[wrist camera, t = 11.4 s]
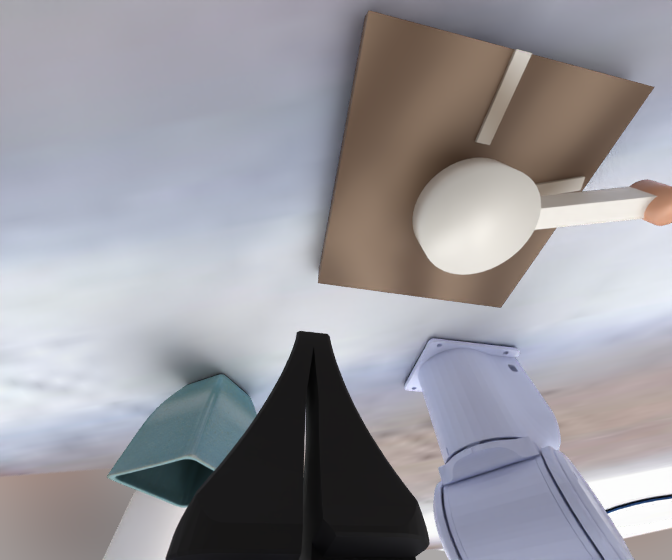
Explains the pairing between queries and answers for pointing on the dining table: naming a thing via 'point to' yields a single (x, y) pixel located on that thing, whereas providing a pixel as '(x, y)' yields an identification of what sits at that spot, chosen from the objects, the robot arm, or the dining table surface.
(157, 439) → the flower pot
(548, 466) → the robot arm
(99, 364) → the dining table surface
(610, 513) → the plate
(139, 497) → the mug
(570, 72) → the strip board
